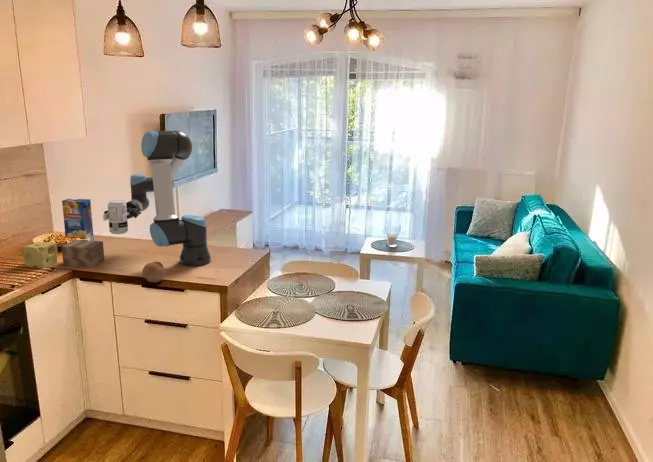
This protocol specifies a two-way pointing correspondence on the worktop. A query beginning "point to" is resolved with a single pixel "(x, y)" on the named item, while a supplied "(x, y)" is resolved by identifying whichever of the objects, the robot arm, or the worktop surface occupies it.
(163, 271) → the onion
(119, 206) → the supplement can
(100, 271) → the worktop surface
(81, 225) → the juice carton
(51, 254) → the cheese
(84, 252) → the walnut block
